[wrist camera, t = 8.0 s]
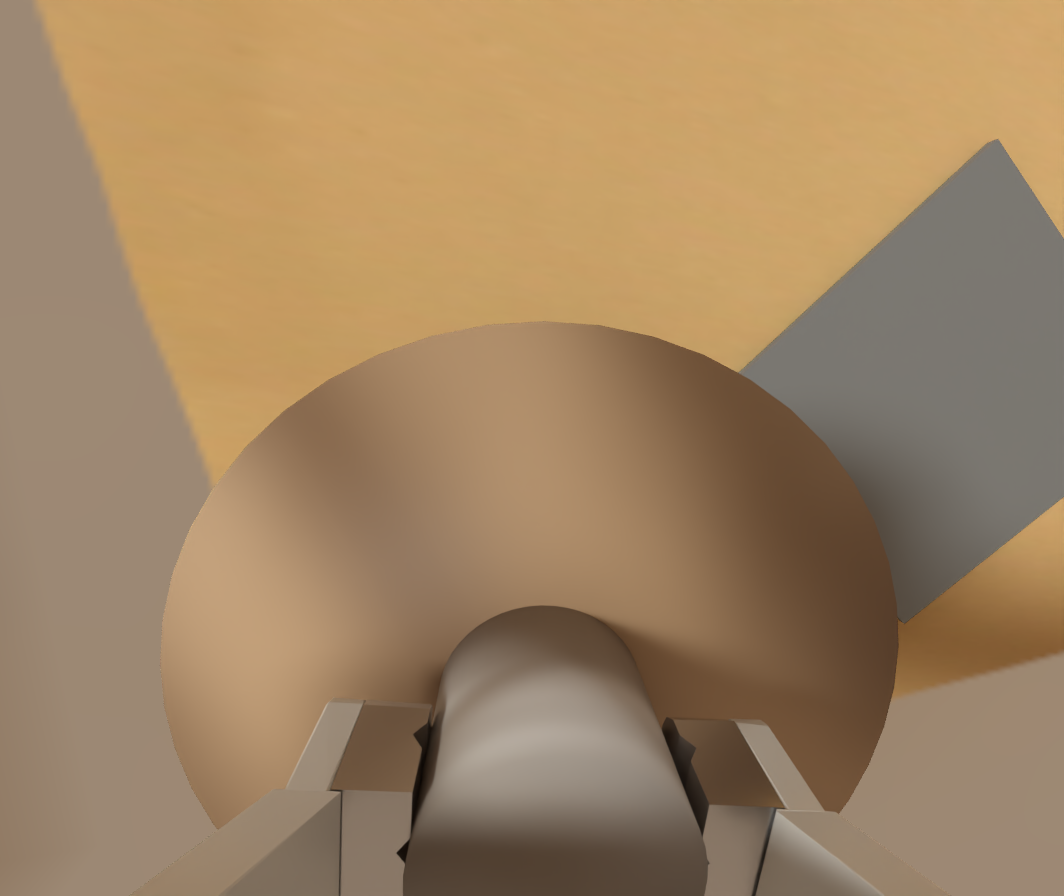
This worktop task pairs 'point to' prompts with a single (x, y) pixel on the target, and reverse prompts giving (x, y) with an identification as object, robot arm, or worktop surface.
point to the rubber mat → (941, 375)
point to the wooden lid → (533, 599)
